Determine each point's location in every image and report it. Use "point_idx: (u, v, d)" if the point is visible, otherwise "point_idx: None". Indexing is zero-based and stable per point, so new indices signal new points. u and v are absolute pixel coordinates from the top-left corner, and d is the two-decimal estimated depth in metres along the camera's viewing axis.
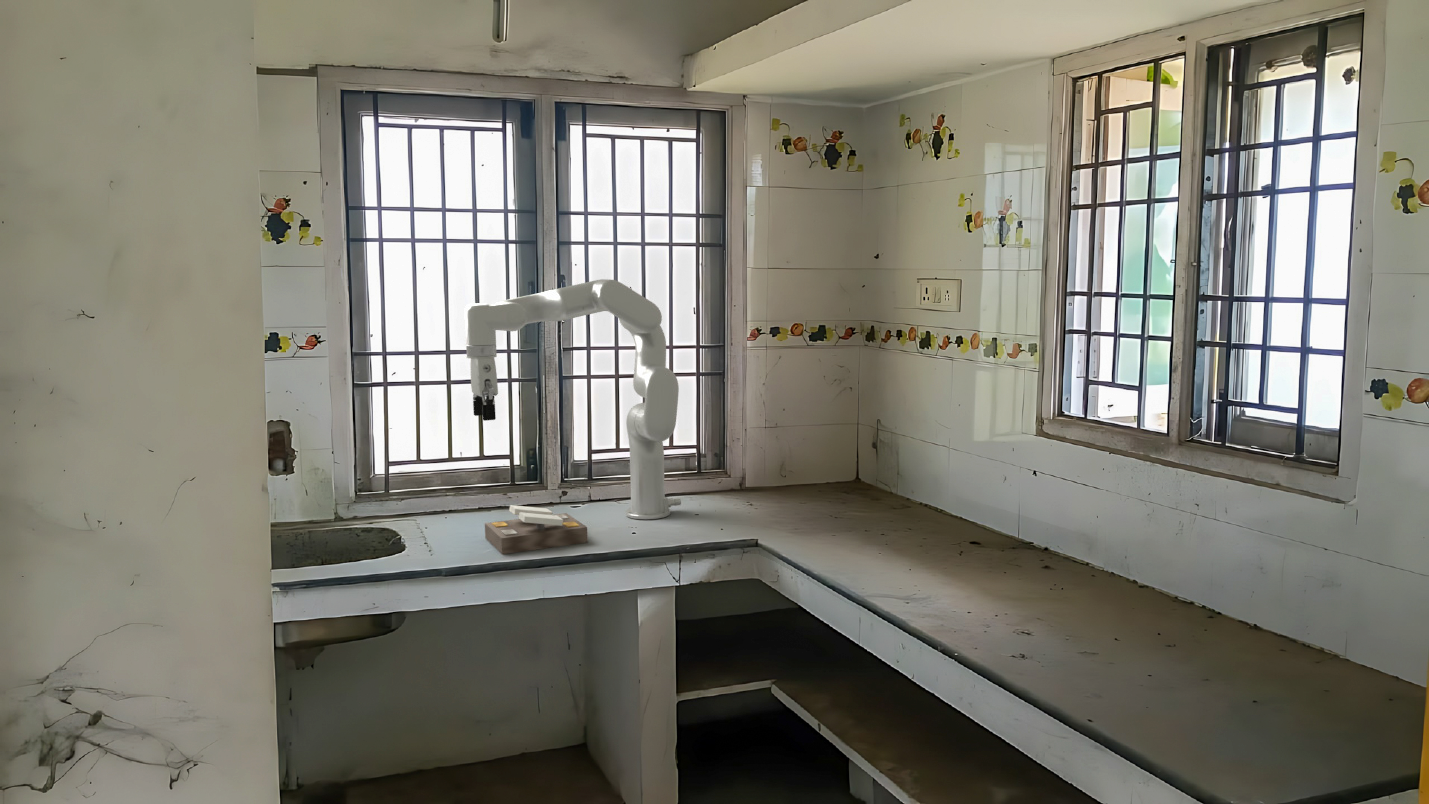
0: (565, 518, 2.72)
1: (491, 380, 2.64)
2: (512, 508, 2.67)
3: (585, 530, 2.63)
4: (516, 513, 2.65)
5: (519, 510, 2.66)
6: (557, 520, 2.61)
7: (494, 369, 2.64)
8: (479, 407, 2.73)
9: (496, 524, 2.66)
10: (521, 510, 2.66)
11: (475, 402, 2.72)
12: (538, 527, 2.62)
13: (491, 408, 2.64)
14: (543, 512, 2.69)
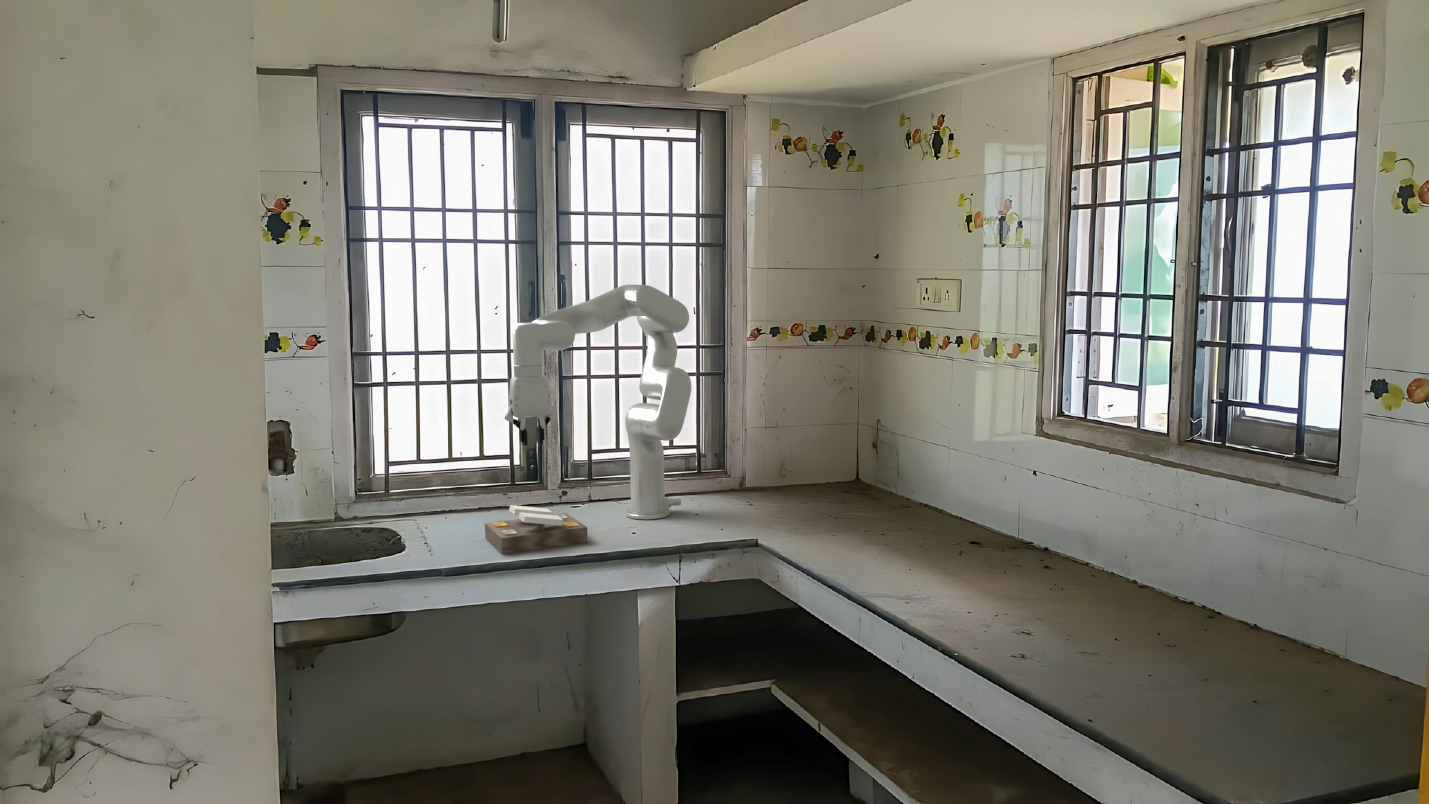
0: (565, 518, 2.72)
1: None
2: (512, 508, 2.67)
3: (585, 530, 2.63)
4: (516, 513, 2.65)
5: (519, 510, 2.66)
6: (557, 520, 2.61)
7: None
8: None
9: (496, 524, 2.66)
10: (521, 510, 2.66)
11: (526, 431, 2.61)
12: (538, 527, 2.62)
13: None
14: (543, 512, 2.69)
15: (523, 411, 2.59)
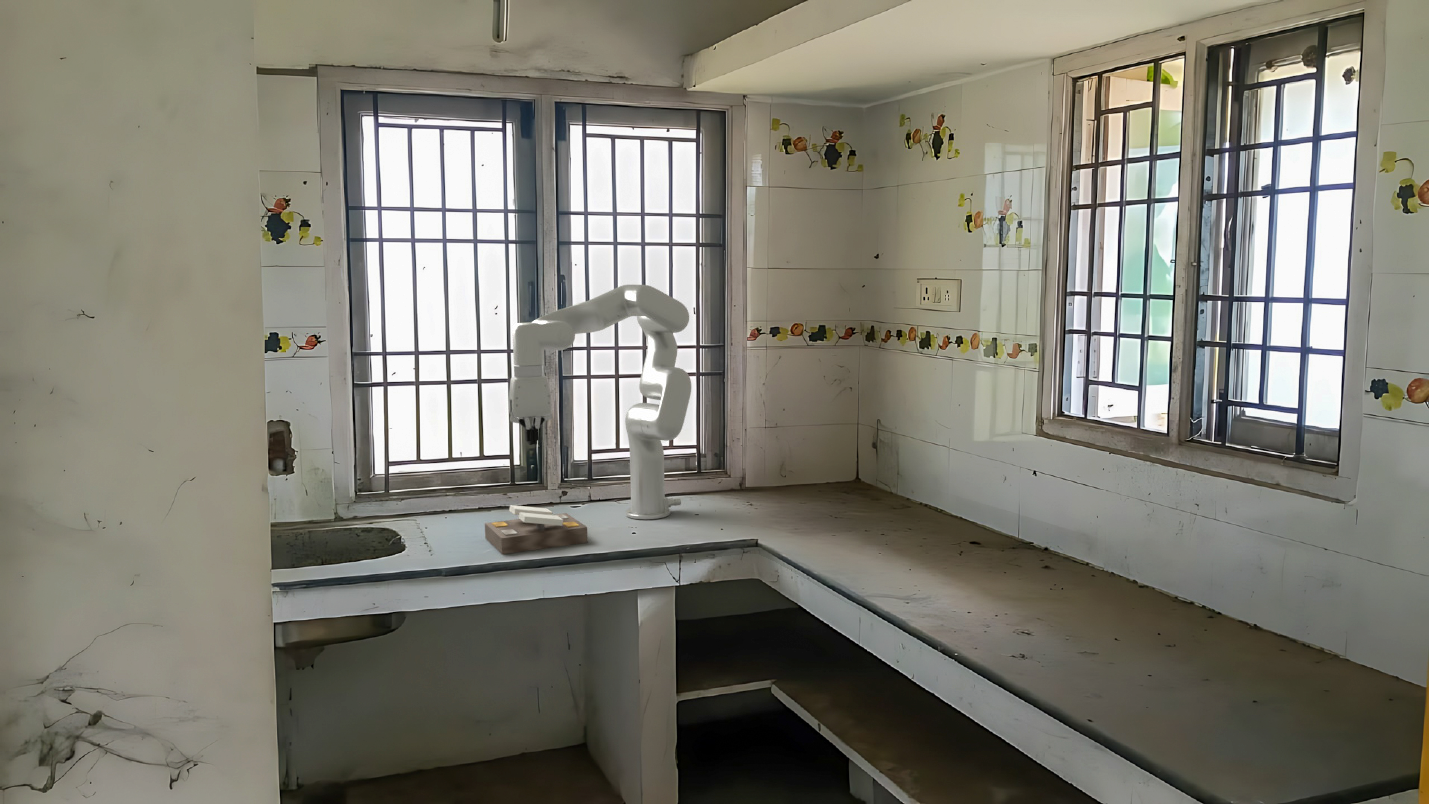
0: (565, 518, 2.72)
1: None
2: (512, 508, 2.67)
3: (585, 530, 2.63)
4: (516, 513, 2.65)
5: (519, 510, 2.66)
6: (557, 520, 2.61)
7: None
8: None
9: (496, 524, 2.66)
10: (521, 510, 2.66)
11: None
12: (538, 527, 2.62)
13: None
14: (543, 512, 2.69)
15: (523, 411, 2.59)
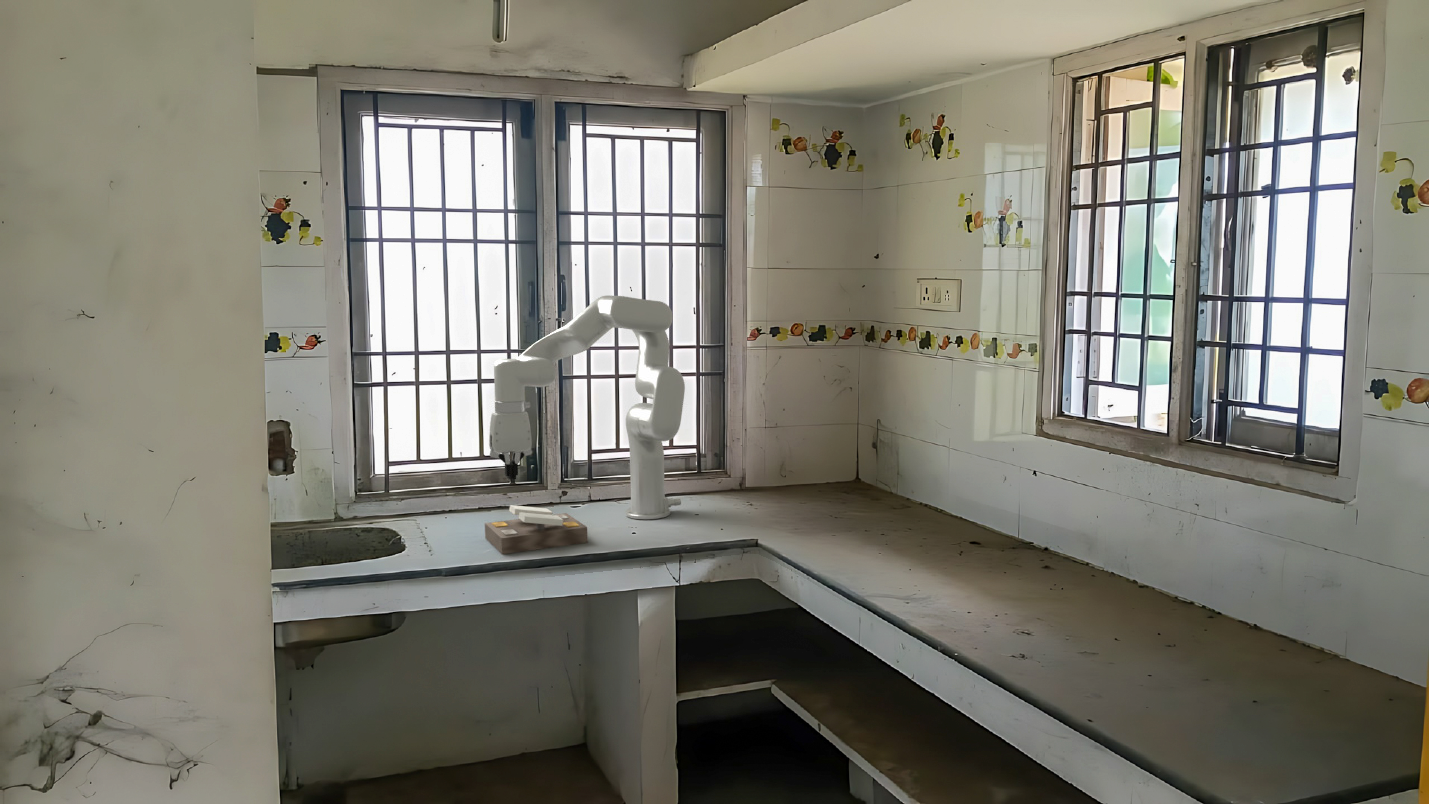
0: (565, 518, 2.72)
1: None
2: (512, 508, 2.67)
3: (585, 530, 2.63)
4: (516, 513, 2.65)
5: (519, 510, 2.66)
6: (557, 520, 2.61)
7: None
8: None
9: (496, 524, 2.66)
10: (521, 510, 2.66)
11: (512, 465, 2.65)
12: (538, 527, 2.62)
13: None
14: (543, 512, 2.69)
15: (503, 446, 2.62)
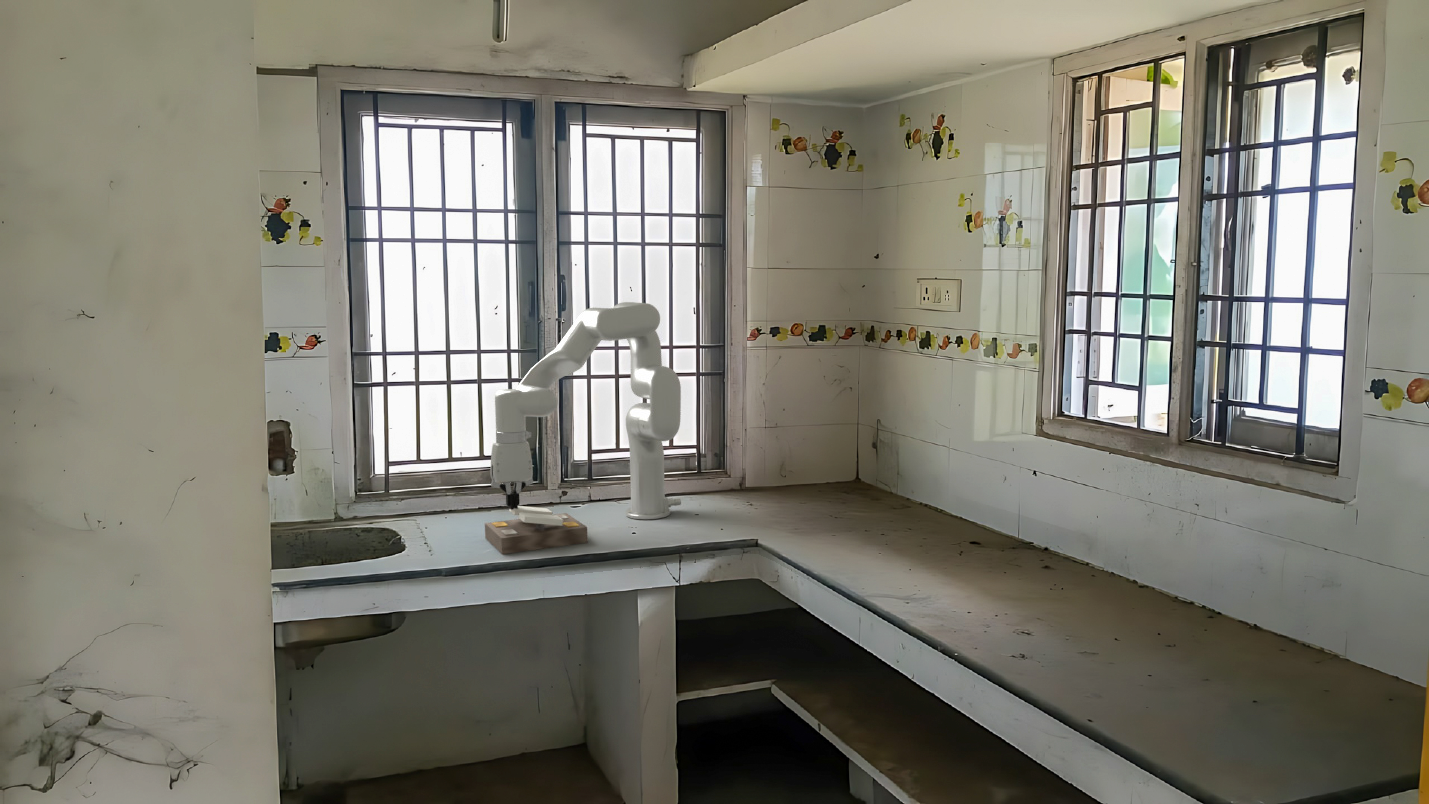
0: (565, 518, 2.72)
1: None
2: None
3: (585, 530, 2.63)
4: (516, 513, 2.65)
5: (519, 510, 2.66)
6: (557, 520, 2.61)
7: None
8: None
9: (496, 524, 2.66)
10: (521, 510, 2.66)
11: None
12: (538, 527, 2.62)
13: None
14: (543, 512, 2.69)
15: (504, 477, 2.63)
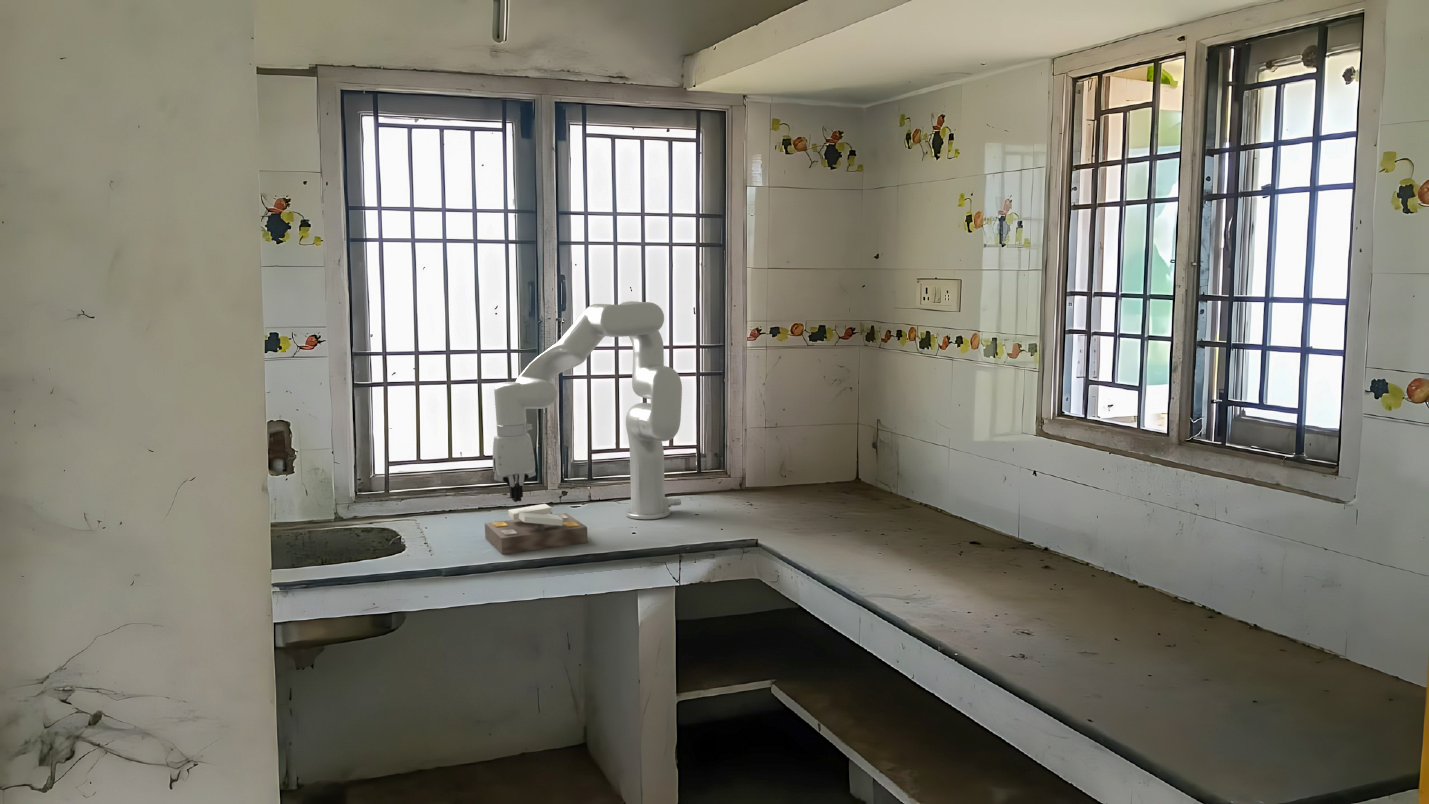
0: (565, 518, 2.72)
1: None
2: (510, 513, 2.67)
3: (585, 530, 2.63)
4: (515, 518, 2.65)
5: (517, 514, 2.66)
6: (557, 520, 2.61)
7: None
8: None
9: (496, 524, 2.66)
10: None
11: (516, 488, 2.66)
12: (538, 527, 2.62)
13: None
14: (542, 510, 2.68)
15: (507, 469, 2.63)
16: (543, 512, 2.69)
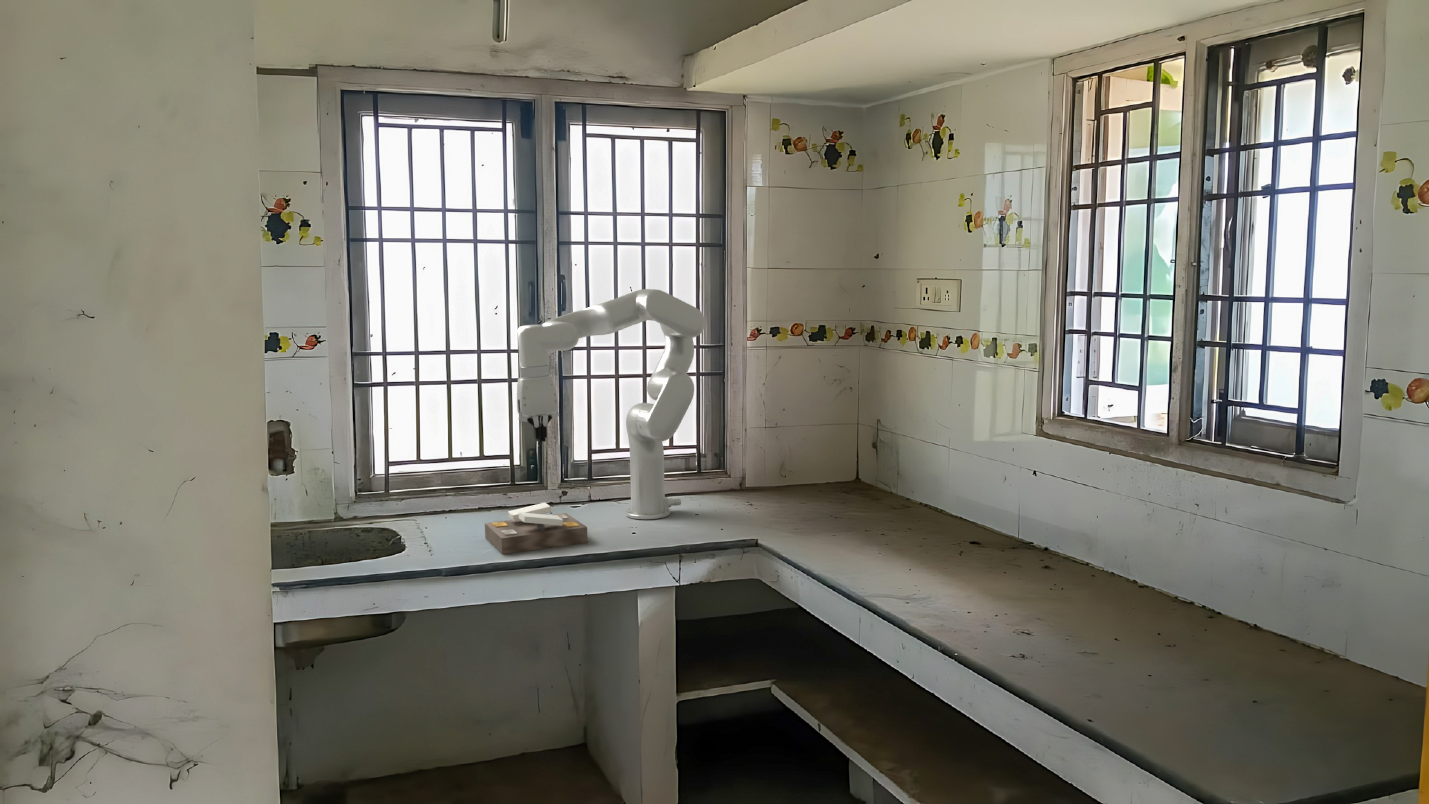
0: (565, 518, 2.72)
1: None
2: (510, 514, 2.67)
3: (585, 530, 2.63)
4: (515, 519, 2.65)
5: (517, 515, 2.66)
6: (557, 520, 2.61)
7: None
8: None
9: (496, 524, 2.66)
10: None
11: (540, 428, 2.73)
12: (538, 527, 2.62)
13: None
14: (541, 509, 2.68)
15: (531, 410, 2.70)
16: (543, 511, 2.69)
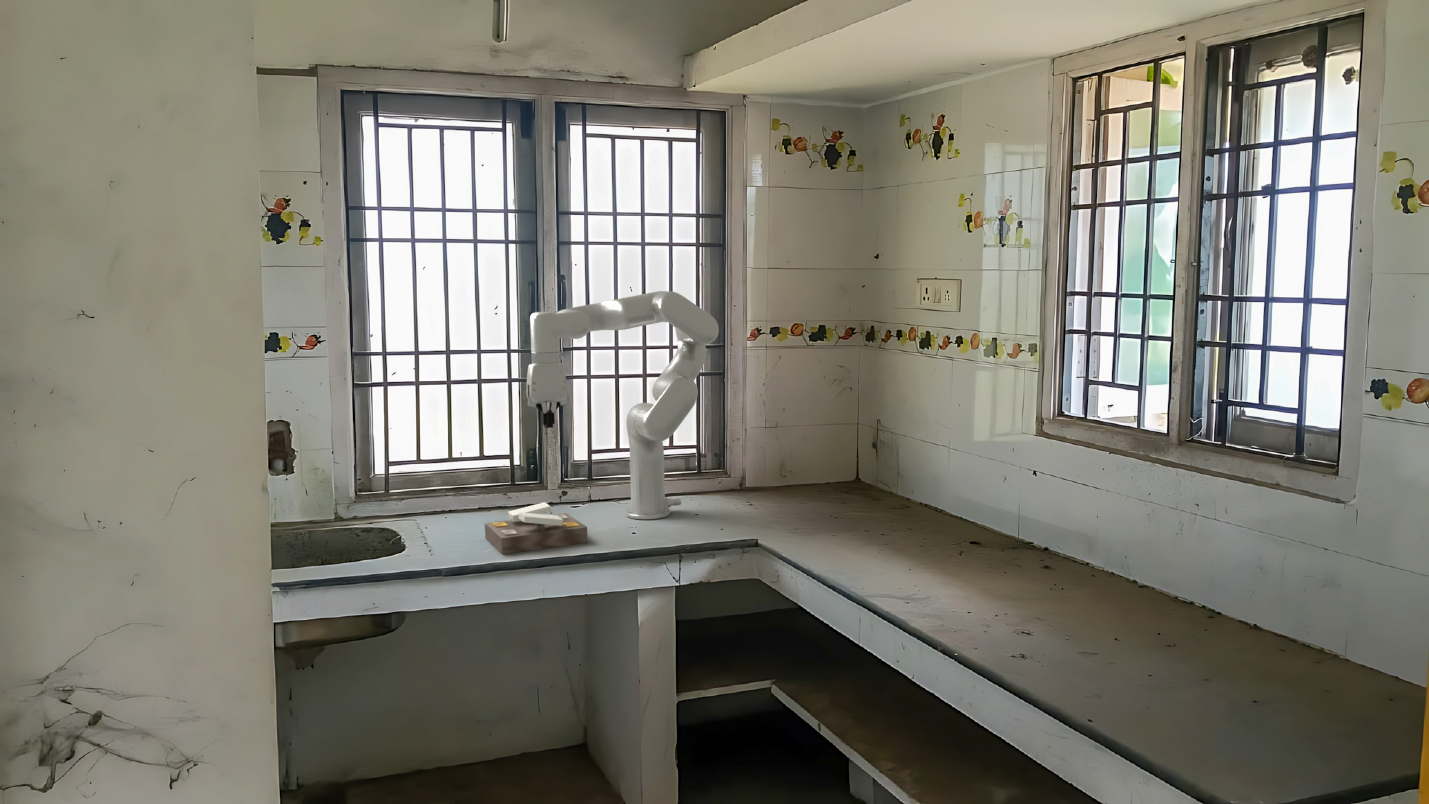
0: (565, 518, 2.72)
1: None
2: (510, 515, 2.67)
3: (585, 530, 2.63)
4: (515, 519, 2.65)
5: (517, 515, 2.66)
6: (557, 520, 2.61)
7: None
8: None
9: (496, 524, 2.66)
10: None
11: (548, 414, 2.75)
12: (538, 527, 2.62)
13: None
14: (541, 509, 2.68)
15: (540, 396, 2.73)
16: (543, 511, 2.68)
